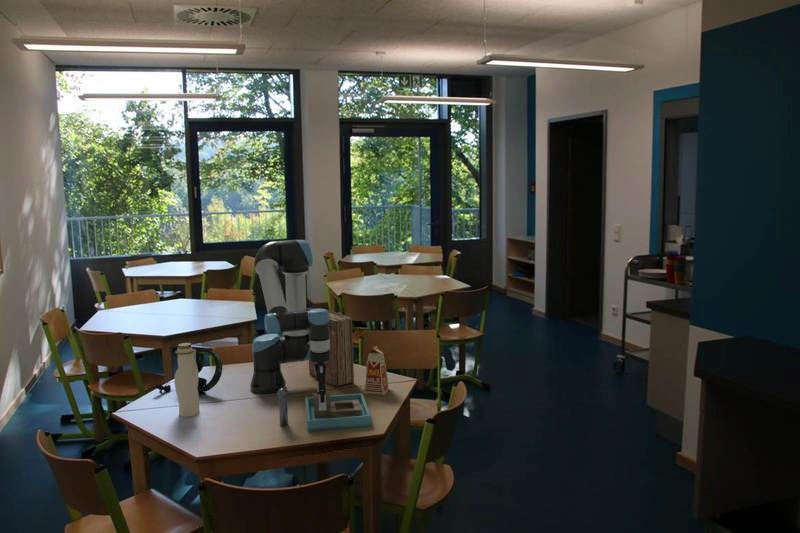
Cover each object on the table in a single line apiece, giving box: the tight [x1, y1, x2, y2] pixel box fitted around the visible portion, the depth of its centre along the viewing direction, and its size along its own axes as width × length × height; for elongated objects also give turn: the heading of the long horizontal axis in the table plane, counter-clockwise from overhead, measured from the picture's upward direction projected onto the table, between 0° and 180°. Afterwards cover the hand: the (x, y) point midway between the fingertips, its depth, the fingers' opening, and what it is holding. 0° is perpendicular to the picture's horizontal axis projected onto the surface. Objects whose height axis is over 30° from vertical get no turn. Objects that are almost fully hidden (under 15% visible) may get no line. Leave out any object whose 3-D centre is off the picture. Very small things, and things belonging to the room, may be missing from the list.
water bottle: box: [174, 342, 200, 418], centre depth 261 cm, size 10×9×28 cm
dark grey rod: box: [276, 387, 289, 427], centre depth 247 cm, size 4×4×14 cm
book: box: [308, 309, 355, 389], centre depth 300 cm, size 25×9×30 cm, turn 35°
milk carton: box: [363, 345, 389, 395], centre depth 283 cm, size 9×9×20 cm
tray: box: [304, 392, 372, 433], centre depth 255 cm, size 26×23×4 cm
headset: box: [153, 348, 223, 395], centre depth 286 cm, size 18×14×29 cm
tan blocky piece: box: [312, 391, 362, 418], centre depth 255 cm, size 12×18×8 cm
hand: (321, 403), depth 254 cm, fingers open, 13 cm apart
